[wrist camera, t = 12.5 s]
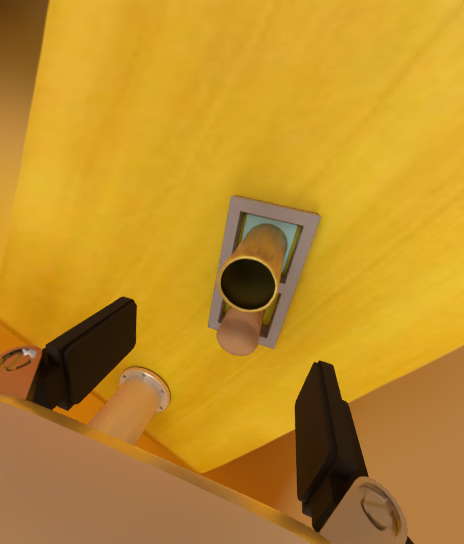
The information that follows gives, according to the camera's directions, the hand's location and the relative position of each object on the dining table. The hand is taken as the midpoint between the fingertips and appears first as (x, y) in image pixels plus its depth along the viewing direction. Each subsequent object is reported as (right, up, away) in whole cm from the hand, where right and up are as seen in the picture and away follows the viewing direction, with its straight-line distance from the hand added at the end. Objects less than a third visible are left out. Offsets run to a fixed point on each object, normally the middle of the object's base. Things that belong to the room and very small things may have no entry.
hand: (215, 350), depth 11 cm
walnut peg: (+4, 0, +24) cm, 24 cm away
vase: (+6, +8, +20) cm, 22 cm away
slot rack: (+5, +4, +22) cm, 23 cm away
